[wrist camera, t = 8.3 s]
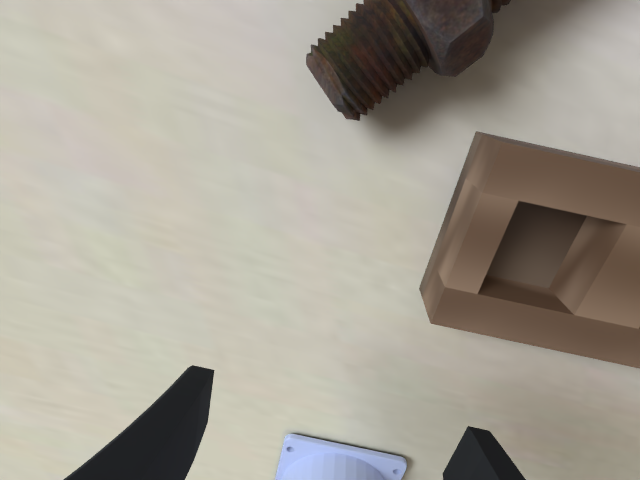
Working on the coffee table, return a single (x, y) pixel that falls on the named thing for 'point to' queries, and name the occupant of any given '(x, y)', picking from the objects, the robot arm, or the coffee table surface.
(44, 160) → the coffee table surface
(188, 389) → the robot arm
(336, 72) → the bolt
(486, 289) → the socket block
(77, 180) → the coffee table surface
